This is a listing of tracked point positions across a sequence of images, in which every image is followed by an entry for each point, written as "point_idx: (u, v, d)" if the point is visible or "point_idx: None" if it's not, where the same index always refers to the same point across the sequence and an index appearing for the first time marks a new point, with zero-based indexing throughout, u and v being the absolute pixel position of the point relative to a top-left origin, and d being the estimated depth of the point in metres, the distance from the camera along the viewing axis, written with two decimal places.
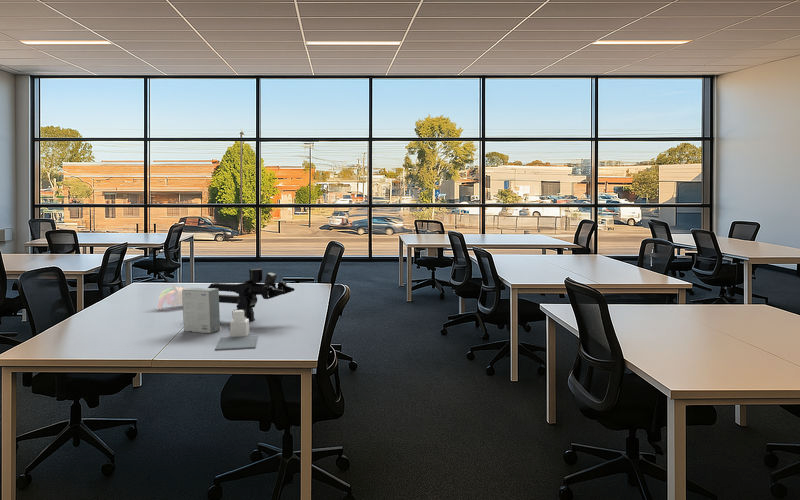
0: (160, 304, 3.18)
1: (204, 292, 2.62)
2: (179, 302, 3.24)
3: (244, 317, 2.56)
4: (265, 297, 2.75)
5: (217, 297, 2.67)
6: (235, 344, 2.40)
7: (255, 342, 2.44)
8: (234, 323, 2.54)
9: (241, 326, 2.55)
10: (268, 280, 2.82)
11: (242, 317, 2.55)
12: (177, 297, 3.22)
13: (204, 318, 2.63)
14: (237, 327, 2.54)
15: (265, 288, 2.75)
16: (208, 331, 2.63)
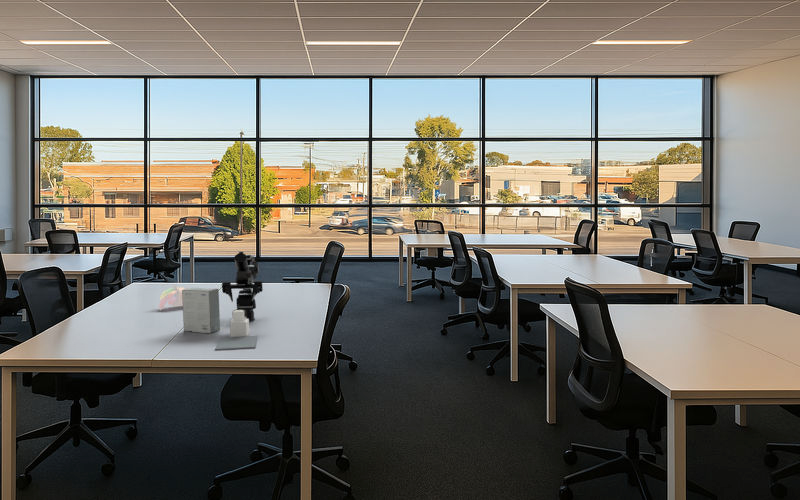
0: (162, 304, 3.18)
1: (204, 292, 2.62)
2: (180, 302, 3.24)
3: (244, 317, 2.56)
4: None
5: (217, 297, 2.67)
6: (235, 344, 2.40)
7: (255, 342, 2.44)
8: (234, 323, 2.54)
9: (241, 326, 2.55)
10: None
11: (242, 317, 2.55)
12: (178, 297, 3.21)
13: (204, 318, 2.63)
14: (237, 327, 2.54)
15: (222, 285, 2.71)
16: (208, 331, 2.63)
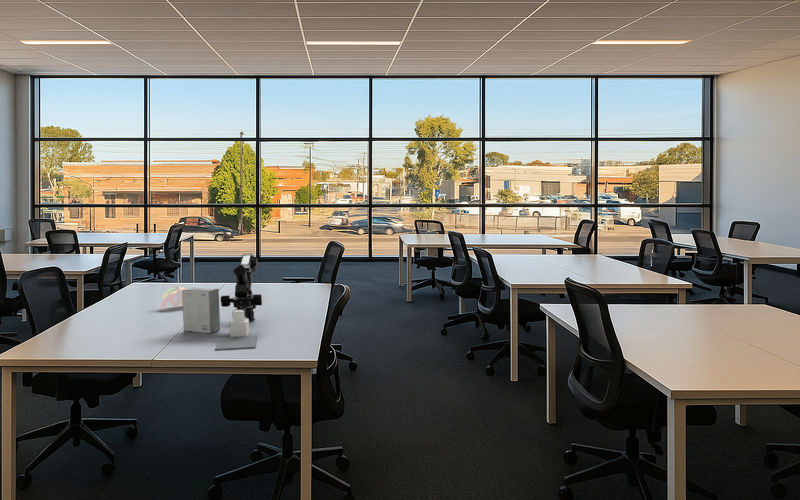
0: (163, 304, 3.17)
1: (204, 292, 2.62)
2: (182, 302, 3.23)
3: (244, 317, 2.56)
4: None
5: (217, 297, 2.67)
6: (235, 344, 2.40)
7: (255, 342, 2.44)
8: (234, 323, 2.54)
9: (241, 326, 2.55)
10: None
11: (242, 317, 2.55)
12: (180, 297, 3.21)
13: (204, 318, 2.63)
14: (237, 327, 2.54)
15: None
16: (208, 331, 2.63)
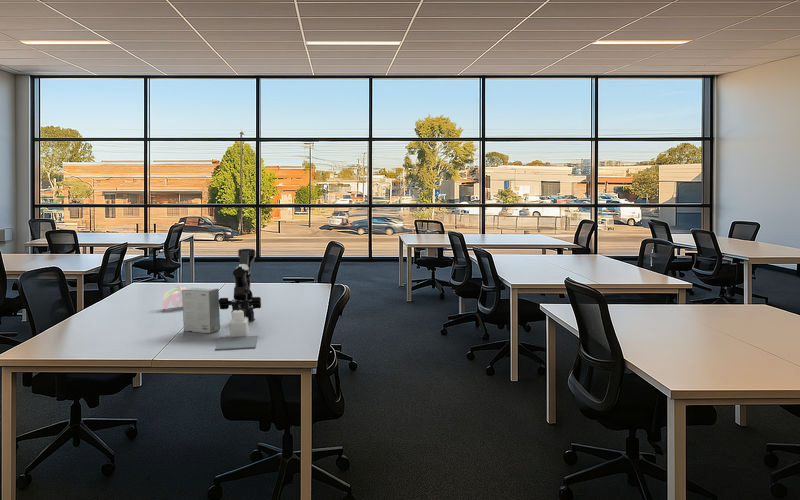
0: (165, 305, 3.16)
1: (204, 292, 2.62)
2: None
3: (243, 317, 2.55)
4: None
5: (217, 297, 2.67)
6: (235, 344, 2.40)
7: (255, 342, 2.44)
8: (234, 324, 2.53)
9: (241, 326, 2.54)
10: (234, 293, 2.63)
11: (241, 317, 2.54)
12: None
13: (204, 318, 2.63)
14: (237, 327, 2.54)
15: (219, 301, 2.62)
16: (208, 331, 2.63)
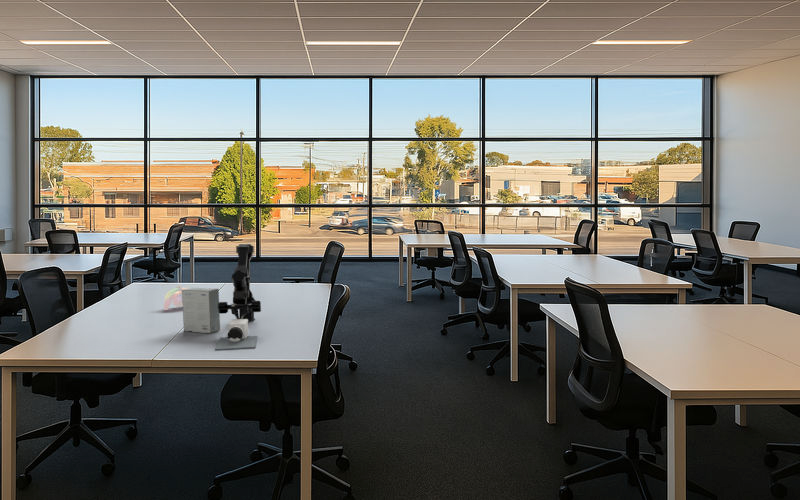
0: (167, 305, 3.16)
1: (204, 292, 2.62)
2: None
3: (242, 336, 2.46)
4: None
5: (217, 297, 2.67)
6: (235, 344, 2.40)
7: (255, 342, 2.44)
8: None
9: None
10: None
11: None
12: None
13: (204, 318, 2.63)
14: None
15: (218, 306, 2.57)
16: (208, 331, 2.63)
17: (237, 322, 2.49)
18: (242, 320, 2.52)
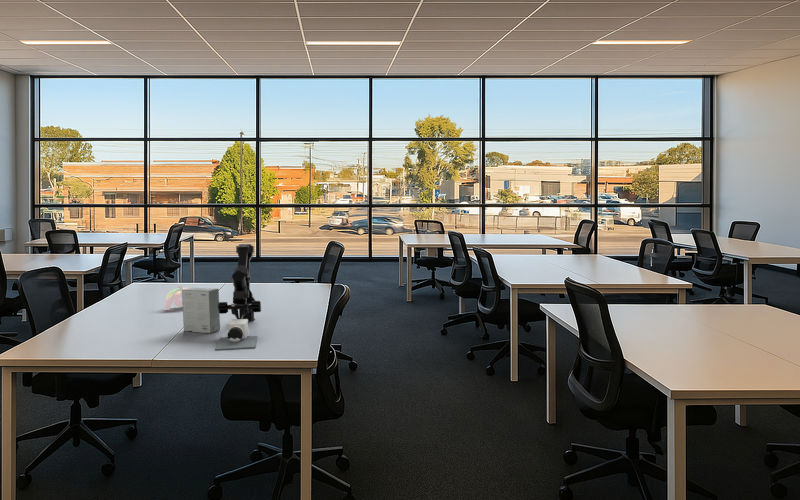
0: (168, 305, 3.16)
1: (204, 292, 2.62)
2: None
3: (242, 336, 2.46)
4: None
5: (217, 297, 2.67)
6: (235, 344, 2.40)
7: (255, 342, 2.44)
8: None
9: None
10: None
11: None
12: None
13: (204, 318, 2.63)
14: None
15: (218, 306, 2.57)
16: (208, 331, 2.63)
17: (237, 322, 2.49)
18: (242, 320, 2.52)
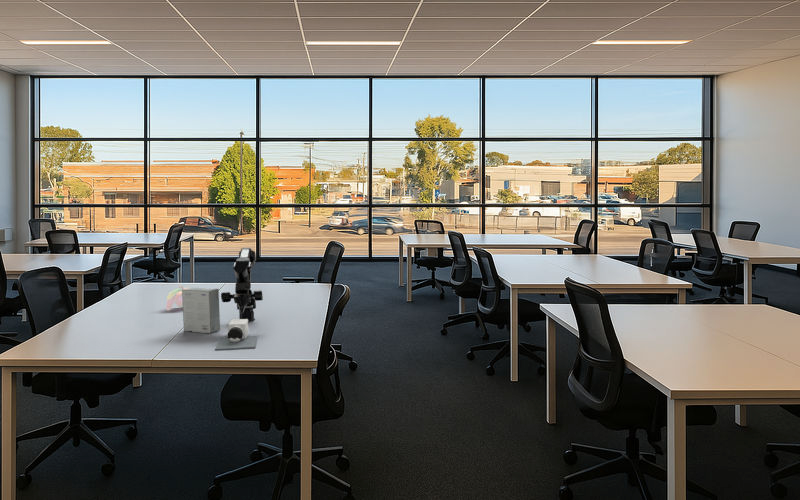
0: (169, 305, 3.15)
1: (204, 292, 2.62)
2: None
3: (242, 336, 2.46)
4: None
5: (217, 297, 2.67)
6: (235, 344, 2.40)
7: (255, 342, 2.44)
8: None
9: None
10: (235, 288, 2.66)
11: None
12: None
13: (204, 318, 2.63)
14: None
15: (221, 296, 2.66)
16: (208, 331, 2.63)
17: (237, 322, 2.49)
18: (242, 320, 2.52)
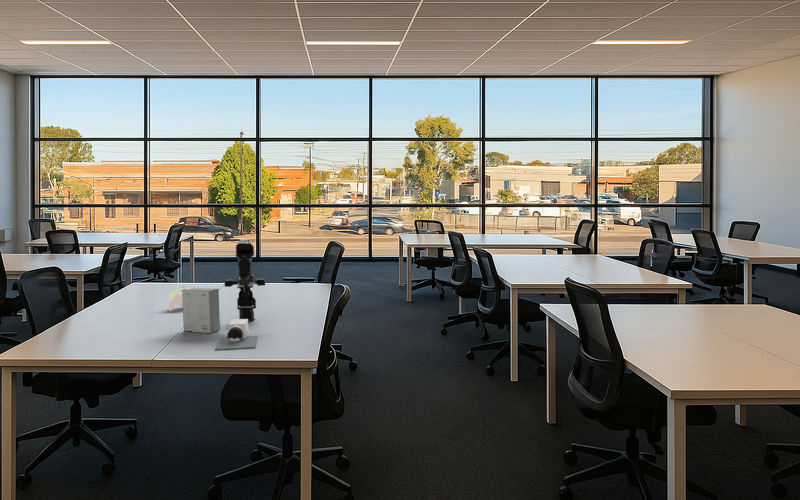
0: (171, 305, 3.15)
1: (204, 292, 2.62)
2: None
3: (242, 336, 2.46)
4: None
5: (217, 297, 2.67)
6: (235, 344, 2.40)
7: (255, 342, 2.44)
8: None
9: None
10: None
11: None
12: None
13: (204, 318, 2.63)
14: None
15: None
16: (208, 331, 2.63)
17: (237, 322, 2.49)
18: (242, 320, 2.52)
